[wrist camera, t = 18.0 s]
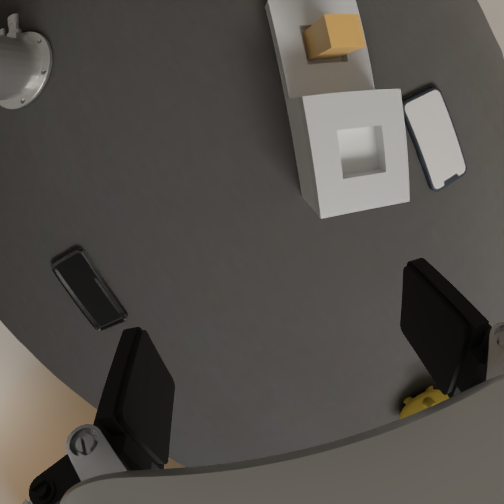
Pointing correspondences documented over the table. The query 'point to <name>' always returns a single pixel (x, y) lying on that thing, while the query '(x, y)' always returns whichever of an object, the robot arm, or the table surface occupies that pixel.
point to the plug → (333, 36)
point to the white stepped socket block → (338, 117)
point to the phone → (89, 290)
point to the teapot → (422, 401)
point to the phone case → (434, 138)
